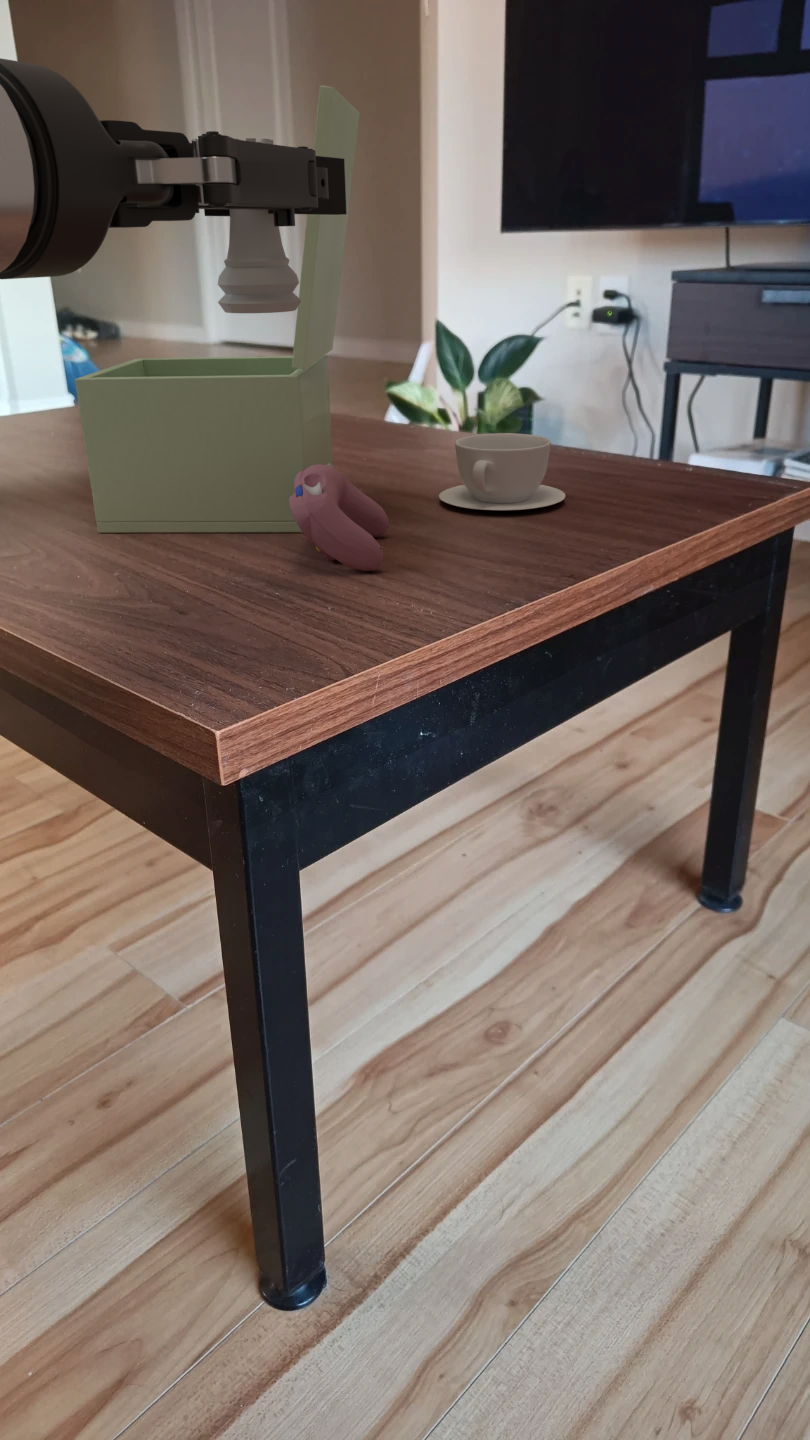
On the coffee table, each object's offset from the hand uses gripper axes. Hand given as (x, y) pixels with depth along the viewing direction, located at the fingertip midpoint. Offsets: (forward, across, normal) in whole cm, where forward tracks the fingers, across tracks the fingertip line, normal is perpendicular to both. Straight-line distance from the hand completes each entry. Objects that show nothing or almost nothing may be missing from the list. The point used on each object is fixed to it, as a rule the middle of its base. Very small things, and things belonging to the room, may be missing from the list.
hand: (308, 188), depth 57 cm
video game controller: (+3, -1, -22) cm, 22 cm away
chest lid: (+13, -8, -2) cm, 16 cm away
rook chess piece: (-5, 0, -6) cm, 8 cm away
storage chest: (+10, -16, -22) cm, 29 cm away
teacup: (+21, +3, -22) cm, 30 cm away
